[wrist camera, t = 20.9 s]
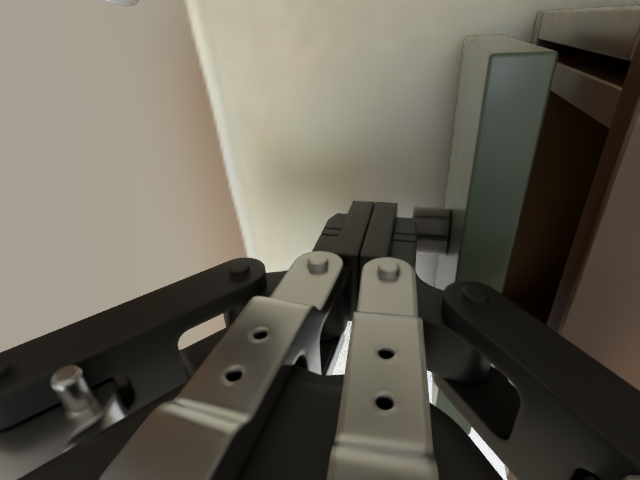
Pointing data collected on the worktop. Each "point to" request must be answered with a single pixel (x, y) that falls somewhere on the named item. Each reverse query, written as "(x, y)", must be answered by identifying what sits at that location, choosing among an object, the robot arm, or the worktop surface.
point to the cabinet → (603, 202)
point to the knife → (123, 2)
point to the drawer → (518, 170)
